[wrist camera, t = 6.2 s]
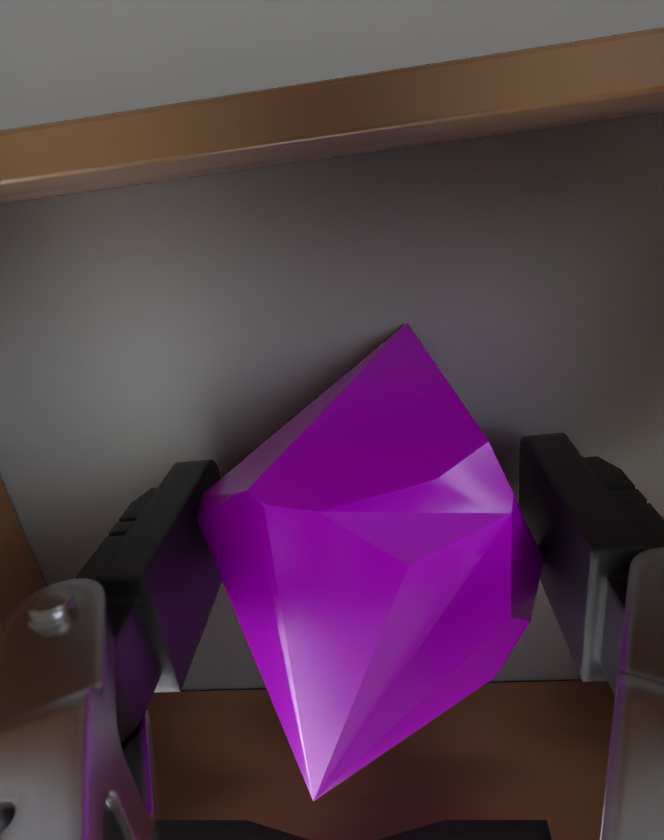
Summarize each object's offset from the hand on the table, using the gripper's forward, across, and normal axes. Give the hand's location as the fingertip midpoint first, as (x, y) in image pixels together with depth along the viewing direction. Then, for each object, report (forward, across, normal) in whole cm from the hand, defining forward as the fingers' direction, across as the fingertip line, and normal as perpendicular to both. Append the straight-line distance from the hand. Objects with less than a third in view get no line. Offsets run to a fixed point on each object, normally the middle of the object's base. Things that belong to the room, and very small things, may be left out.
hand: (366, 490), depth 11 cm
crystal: (+1, 0, 0) cm, 1 cm away
